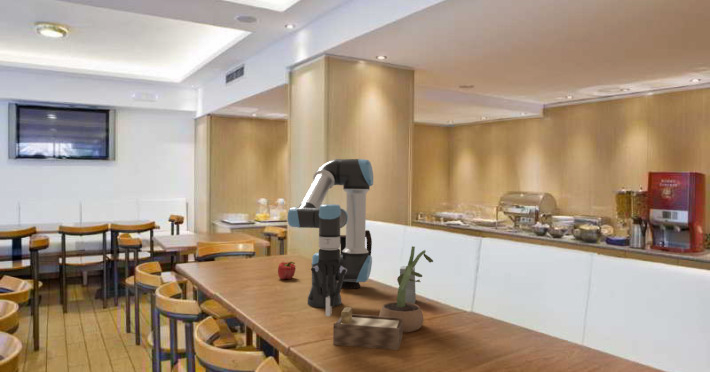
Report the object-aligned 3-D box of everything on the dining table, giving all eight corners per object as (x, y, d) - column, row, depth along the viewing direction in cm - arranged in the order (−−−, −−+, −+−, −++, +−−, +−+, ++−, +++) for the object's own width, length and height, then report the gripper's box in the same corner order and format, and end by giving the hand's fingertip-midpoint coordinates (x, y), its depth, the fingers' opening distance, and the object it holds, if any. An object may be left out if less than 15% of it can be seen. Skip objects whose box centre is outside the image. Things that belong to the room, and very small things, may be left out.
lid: (339, 327, 163) (339, 313, 163) (346, 318, 173) (346, 305, 173) (395, 331, 159) (395, 317, 159) (399, 322, 169) (399, 309, 169)
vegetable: (300, 278, 267) (300, 260, 267) (288, 281, 258) (288, 263, 258) (285, 276, 273) (285, 258, 273) (273, 279, 264) (273, 261, 264)
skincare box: (414, 304, 215) (415, 269, 215) (398, 303, 217) (399, 268, 217) (416, 299, 224) (416, 265, 223) (400, 298, 225) (401, 265, 225)
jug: (325, 289, 242) (325, 229, 242) (339, 281, 260) (340, 226, 259) (364, 293, 235) (364, 232, 234) (376, 285, 252) (377, 228, 251)
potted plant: (408, 337, 170) (409, 253, 169) (369, 326, 182) (370, 247, 182) (442, 324, 187) (443, 247, 186) (405, 314, 199) (406, 242, 198)
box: (333, 344, 162) (333, 323, 162) (342, 332, 175) (342, 313, 175) (398, 350, 157) (398, 328, 157) (402, 337, 170) (402, 317, 170)
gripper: (308, 249, 166) (307, 316, 166) (345, 250, 163) (344, 319, 164) (314, 246, 173) (314, 311, 174) (349, 247, 171) (349, 313, 171)
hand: (328, 315), depth 169 cm, fingers closed
